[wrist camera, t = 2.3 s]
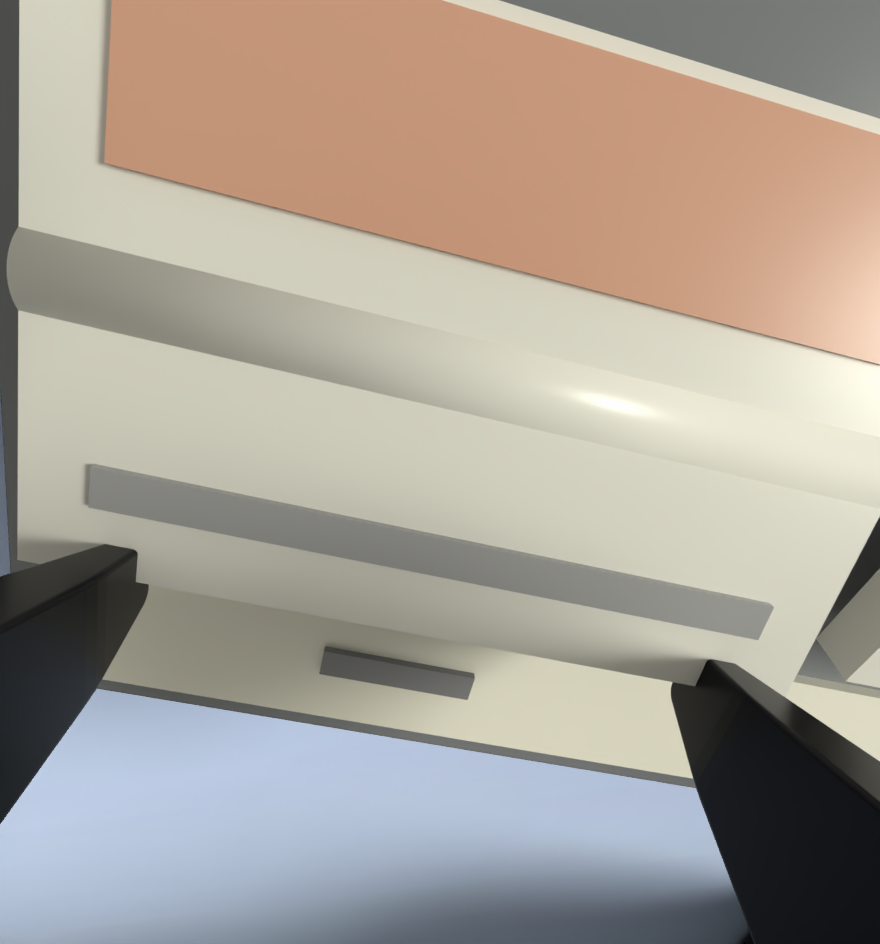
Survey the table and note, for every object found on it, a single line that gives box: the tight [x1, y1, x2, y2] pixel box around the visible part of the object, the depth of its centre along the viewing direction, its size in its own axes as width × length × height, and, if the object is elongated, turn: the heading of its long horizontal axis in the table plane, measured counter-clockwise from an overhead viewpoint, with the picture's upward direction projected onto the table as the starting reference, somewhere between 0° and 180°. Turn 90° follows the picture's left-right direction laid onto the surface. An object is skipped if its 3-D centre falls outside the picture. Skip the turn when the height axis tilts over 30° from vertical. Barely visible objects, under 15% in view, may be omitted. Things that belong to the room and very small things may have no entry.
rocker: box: [6, 0, 880, 697], centre depth 8 cm, size 8×12×1 cm, turn 76°
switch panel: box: [0, 0, 880, 788], centre depth 11 cm, size 18×30×4 cm, turn 76°
